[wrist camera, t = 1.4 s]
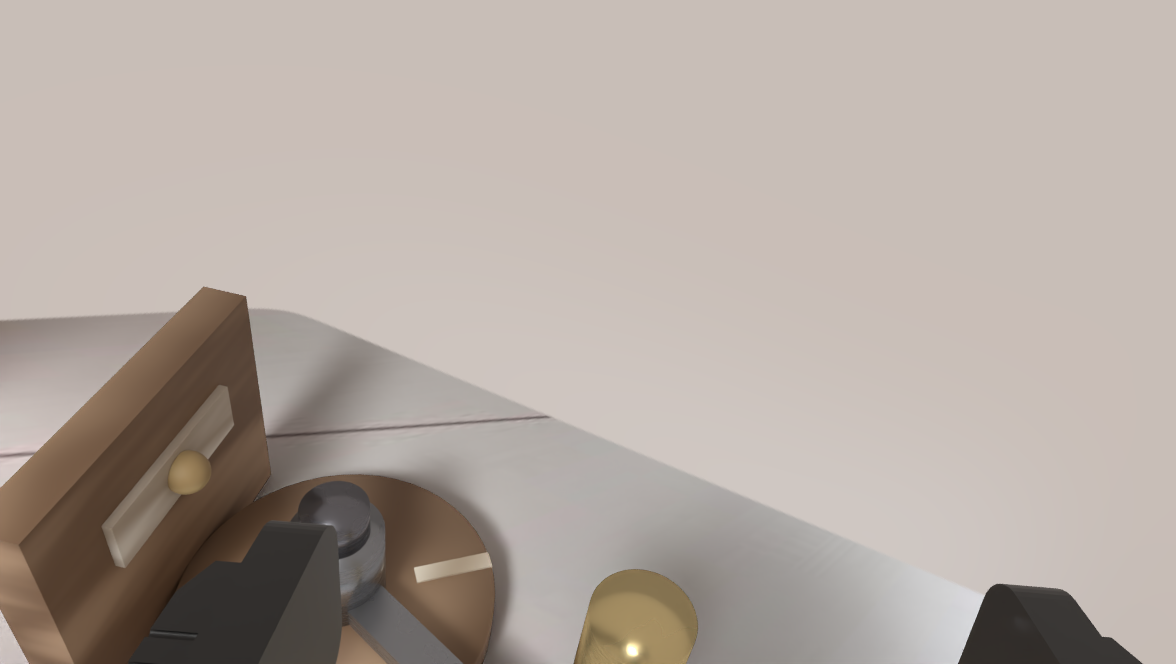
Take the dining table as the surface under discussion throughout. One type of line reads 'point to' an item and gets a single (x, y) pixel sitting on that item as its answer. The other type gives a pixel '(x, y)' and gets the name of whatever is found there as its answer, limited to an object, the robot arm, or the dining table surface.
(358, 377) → the dining table surface
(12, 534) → the stand
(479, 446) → the dining table surface
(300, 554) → the robot arm
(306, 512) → the crank handle
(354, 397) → the dining table surface
